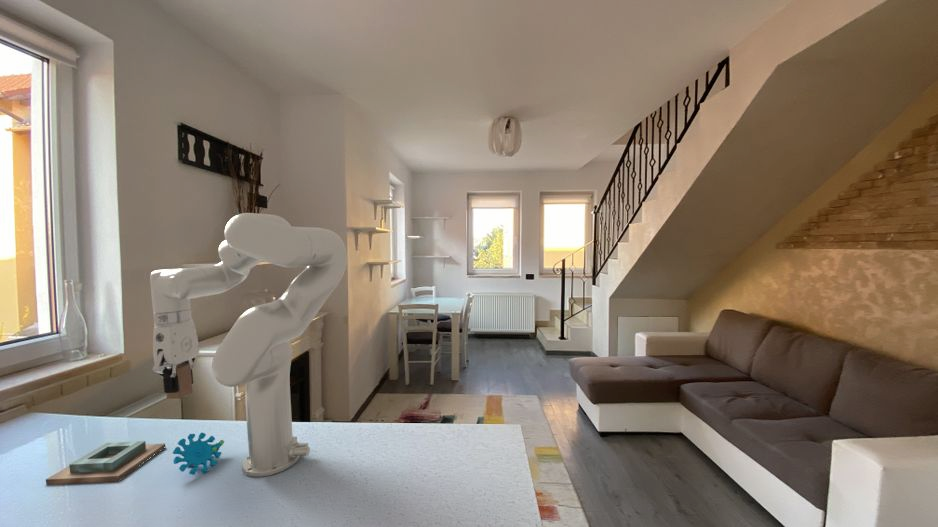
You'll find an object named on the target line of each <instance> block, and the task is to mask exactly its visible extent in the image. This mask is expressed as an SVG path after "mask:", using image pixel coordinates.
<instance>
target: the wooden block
mask: <svg viewBox="0 0 938 527" xmlns="http://www.w3.org/2000/svg"><path fill="white" fill-rule="evenodd" d="M167 369H169V370H170V369H171V367H167ZM176 376H178V383H179V391H178V392H177V393H165V394H166V399H168V400H169V399H171V400H172V399H174V400H178V399H179V400H180V399H184V398H185V397H187V396H189V395H191V394H193V384H192V379H191V368H190V364H189V363H181V364H178V365H176Z"/></svg>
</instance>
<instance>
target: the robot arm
mask: <svg viewBox="0 0 938 527" xmlns="http://www.w3.org/2000/svg"><path fill="white" fill-rule="evenodd" d="M217 252H218V256H219V260H220V262H219V263H217V264H214V265H207V266H196V267H195V266H194V267H184V268H165V269H164V268H163V269H156V270H154V271H151V273H150V275H149V281H150V282H149V283H150V291H151V292H150V293H151V304H152V305H151V306H152V314H153V324H154V327H153V332H152V333H153V334H152V335H153V336H152V337H153V338H152V354H153V355H152V356H153V361H154V364H153V367H152V371H153V372H155V373H156V374H158V375H160V377H161V379H163V380H162V382H163V390H164V391H163V392H164V393H165V394H166V393H177V392H178V391H179V383H178V376H176V365H178V364H181V363H189V364H190V368H191V379H192V385H193V384H194V375H193V368H194V362H195V360H196V357H197V356H199V354H200V347H199V339H198V334H197V329H196V325H195V322H194V319H193V318H192V311H191V310H192V309H191V299H197V298H202V297H209V296H213V295H214V296H215V295H220V294H222V293H225V292H227V291H229V290H230V289H233V288H234V287H236V286H238V285H239V284H241V283H242V282H244V281H245V280H246V279H247V277H248V276H249V275H250V271H251V269H252V268H255V266H257V265H258V264H260V263H262V262H265V263H269V264H271V265H275V266H279V267H282V268H301V267H303V268H304V267H305V268H304V269H303V271H301V272H300V273H299V274H298V275H296V276H295V278H293V280H292V281H291V283H289V285H288V287H287V289H286V290H285V291H284V292H283V294H281V296H280V297H279V298H278V299H276V300H273V301H270V302H266V303H263V304H258V305H255V306H253V307H251V308H248V309H247V310H245V311H244V312H243V313H242V314H241V315H240V316H239V317H238V318H237V319H236V321H235V322H234V324H232V327H231V328H230V330H229V331H228V333H227V334H226V336H224V338H223V340H222V341H221V342H220V344H219V346H218V348H217V349H216V351H215V353H214V356H213V358H212V361H211V362H212V363H211V371H212V375H213V377H214V379H215V380H216V382H218V383H219V384H220V385H222V386H224V387H229V388H232V387H233V388H235V387H241V386H243V385H246V386H245V393H244V398H245V416H246V430H247V432H246V433H247V443H248V445H247V446H248V456H247V457H245V458H244V460H243V461H242V464H241V469H242V473H244V474H245V475H246V476H249V477H257V478H259V477H268V476H272V475H275V474H278V473H281V472H283V471H285V470H287V469H289V468H291V467H292V466H293V465H295V463H297V462H298V461H299V459H300V457H304V456H305V457H308V456H309V455H310V451H311V450H310V449H311V448H310V446H309V442H298V436H293V435H294V434H293V421H292V403H291V386H290V384H291V381H290V380H291V379H290V378H291V377H290V374H291V365H292V358H293V357H292V356H293V349H292V348H293V346H292V344H291V341H292V340H295V339H297V338H298V337H300V336H301V335H302V334H303V333H304V332H305V331H306V329H307V328H308V327H309V325H310V324H311V322H312V321H313V320H314V318H315V317H316V315H317V314H318V313H319V312H320V310H321V308H322V307H323V306H324V304H325V303H326V301H327V300H328V299H329V297H330V296H331V295H332V293H333V292H334V291H335V289H336V288H337V287H338V285H339V283H340V282H341V280H342V278H343V276H344V274H345V272H346V268H347V264H348V254H347V253H348V252H347V248H346V245H345V243H344V241H343V239H342V238H341V237H340V235H339V234H337V233H336V232H335V231H333V230H330V229H327V228H323V227H314V226H313V227H311V226H308V227H307V226H292V225H291V224H290V222H288V221H287V220H286V219H285V218H284V217H281V216H279V215H277V214H269V213H268V214H267V213H257V212H256V213H255V212H243V213H239V214H237V215H235V216H233V217H231V218H230V219H229V221H228V222H227V223H226V225H225V228H224V240H222V242H221V243H220V245H219V246H218V251H217ZM167 367H171V369H170V370H169V369H167Z"/></svg>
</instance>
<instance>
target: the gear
mask: <svg viewBox="0 0 938 527" xmlns="http://www.w3.org/2000/svg"><path fill="white" fill-rule="evenodd" d="M206 436H207V434H206V433H204V432H200V433H199V434H198V438H197V440H196V441H195V440H193V439H194V438H196V434H195V433H189V435H188V436H187V440H188V444H186V442H187V440H186V439H185V438H181V439H180V440H179V441H178V442H177V445H178V446H176V447H175V448H174V450H173V451H172V454H173V455H176V456H175V457H174V458H173V464H174V465H176V464H179V463H182V464H180V465H179V469H178V470H179V471H180V472H181V473H183V472H185V470H186V469H188V468H189V467H192V466H194V467H192V468H191V469H190V470H189V472H188V473H189V474H190V475H193V476H194V475H196V473H197V472H198V467H199V466H200V465H201V466H202V468H201V469H200V473H201V474H202V473H203V474H205V473H207V472H208V471H209V466H210V468H213V467H215V466H216V465H217V464H218V461H217V460H216V459H219V458H220V457H221V455H222V451H219V450H220V448H221V447H222V446H223V445H224V443H225V440H223V439H221V440H219V441H218V442H216V443H213V442H215V441H216V438H215V437H214V436H213V435H211V436H209V438H207V439H206V440H203V439H204V438H205V437H206ZM209 443H210V444H209ZM211 443H213V444H211ZM180 446H181V447H182V448H181V447H180ZM181 449H183V450H181ZM177 455H179V456H177ZM181 456H182V457H181ZM213 457H214V458H215V459H214V458H213ZM208 461H209V462H210V463H209V466H208Z"/></svg>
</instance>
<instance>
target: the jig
mask: <svg viewBox="0 0 938 527" xmlns="http://www.w3.org/2000/svg"><path fill="white" fill-rule="evenodd" d="M164 447H165V448H166V443H148V444H147V443H146V440H141V441H140V440H139V441H115V442H114V441H113V442H105V443H104V444H102V445H100V446H99V447H96V448H95V449H94V450H92V451H90V452H87V454H85V455H83V456H82V457H79V458H78V459H76V460H75V461H73V462H71V463H70V464H69V465H68V466H67V467H64V468H63V469H61V470H60V471H58V472H56V473H55V474H52V475H51V476H49V477H47V478H46V479H45V485H64V484H65V485H66V484H67V485H69V484H85V483H87V482H88V483H89V482H90V483H107V482H110V481H111V482H120V481H121V480H122V479H121V478H123V477H124V476H125V477H126V475H127V474H128V475H130V474H131V473H132V472H134V471H135V470H136V468H137V467H138V466H139V465H141V464H142V463H143V462H145V461H146V460H147V459H149V458H150V457H152V456H153V455H154V454H156V453H157V452H159V451H160V450H162V449H163V448H164ZM163 450H164V449H163ZM163 450H162V451H163ZM160 452H161V451H160ZM160 452H159V453H160ZM156 455H157V454H156ZM153 457H154V456H153ZM153 457H152V458H153ZM149 460H150V459H149ZM146 462H147V461H146ZM146 462H145V463H146ZM142 465H143V464H142ZM142 465H141V466H142ZM139 467H140V466H139ZM139 467H138V468H139ZM138 468H137V469H138ZM134 469H135V470H134ZM133 470H134V471H133ZM131 471H132V472H131ZM130 472H131V473H130ZM129 473H130V474H129ZM128 475H127V476H128ZM125 477H124V478H125ZM124 478H123V479H124ZM120 479H121V480H120ZM119 480H120V481H119ZM88 483H87V484H88Z"/></svg>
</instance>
